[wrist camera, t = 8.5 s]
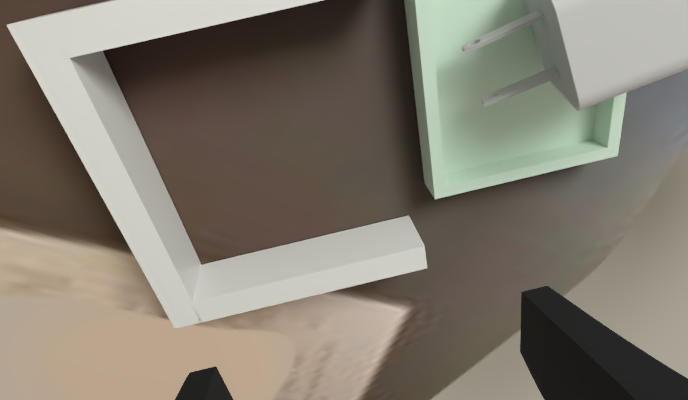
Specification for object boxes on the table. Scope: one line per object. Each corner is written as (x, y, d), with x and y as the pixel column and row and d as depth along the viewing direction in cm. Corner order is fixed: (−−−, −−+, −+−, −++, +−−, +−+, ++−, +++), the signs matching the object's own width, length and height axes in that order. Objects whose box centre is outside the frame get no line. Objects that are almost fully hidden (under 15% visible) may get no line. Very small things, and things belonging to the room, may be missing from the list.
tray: (595, 142, 20) (617, 155, 18) (424, 183, 20) (434, 199, 18) (629, -164, 14) (664, -176, 13) (391, -111, 14) (403, -118, 13)
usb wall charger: (671, 28, 16) (746, 56, 12) (481, 106, 18) (500, 148, 14) (655, -91, 14) (736, -97, 11) (446, 12, 16) (459, 35, 13)
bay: (411, 236, 21) (427, 268, 19) (185, 290, 21) (174, 328, 19) (370, -59, 15) (387, -61, 13) (46, 14, 14) (6, 25, 12)
